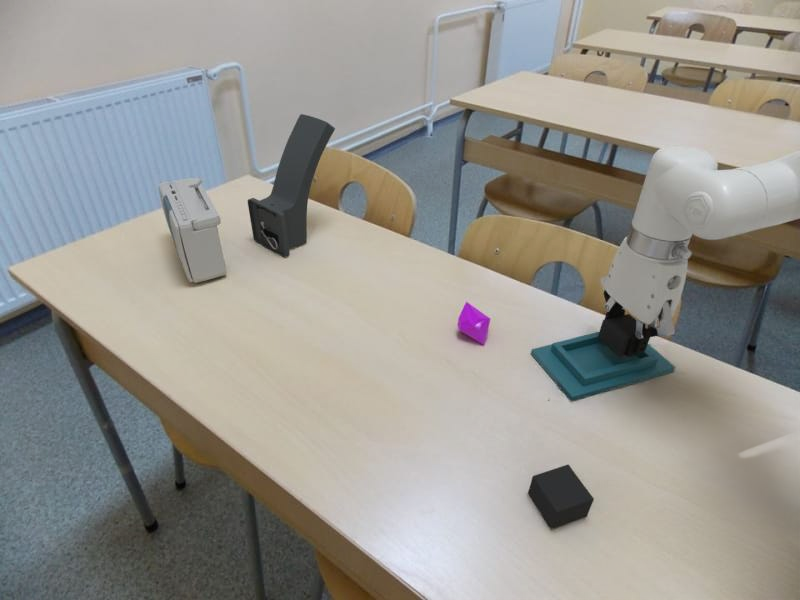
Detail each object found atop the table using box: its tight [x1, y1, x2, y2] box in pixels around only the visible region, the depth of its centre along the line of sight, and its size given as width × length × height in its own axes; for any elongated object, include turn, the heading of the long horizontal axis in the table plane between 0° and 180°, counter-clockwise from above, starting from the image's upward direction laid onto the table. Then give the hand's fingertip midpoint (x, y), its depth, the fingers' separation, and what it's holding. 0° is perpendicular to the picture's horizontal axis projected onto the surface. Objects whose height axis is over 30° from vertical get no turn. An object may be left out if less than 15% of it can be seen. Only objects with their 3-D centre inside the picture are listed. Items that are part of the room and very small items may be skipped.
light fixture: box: [247, 113, 336, 258], centre depth 107 cm, size 11×17×24 cm, turn 139°
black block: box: [598, 313, 647, 357], centre depth 80 cm, size 5×5×4 cm
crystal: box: [457, 301, 491, 346], centre depth 86 cm, size 5×5×5 cm
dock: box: [530, 331, 676, 402], centre depth 81 cm, size 11×19×2 cm, turn 110°
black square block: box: [527, 464, 595, 530], centre depth 61 cm, size 5×5×4 cm
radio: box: [158, 177, 227, 284], centre depth 100 cm, size 21×8×20 cm, turn 28°
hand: (621, 341), depth 81 cm, fingers closed on black block, 4 cm apart
